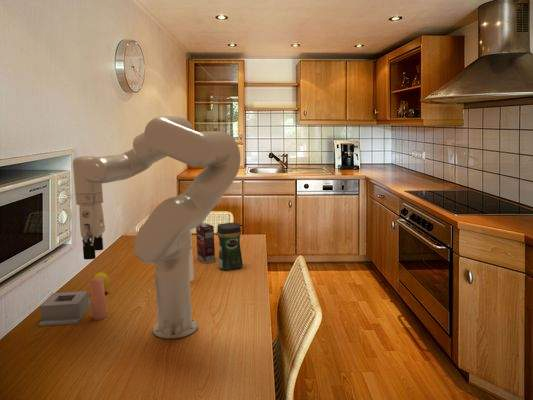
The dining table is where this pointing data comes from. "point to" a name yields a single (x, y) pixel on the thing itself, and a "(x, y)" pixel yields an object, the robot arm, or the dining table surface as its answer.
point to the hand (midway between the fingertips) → (93, 254)
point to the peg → (98, 298)
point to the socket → (64, 308)
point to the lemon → (106, 279)
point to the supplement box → (205, 243)
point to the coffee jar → (229, 246)
